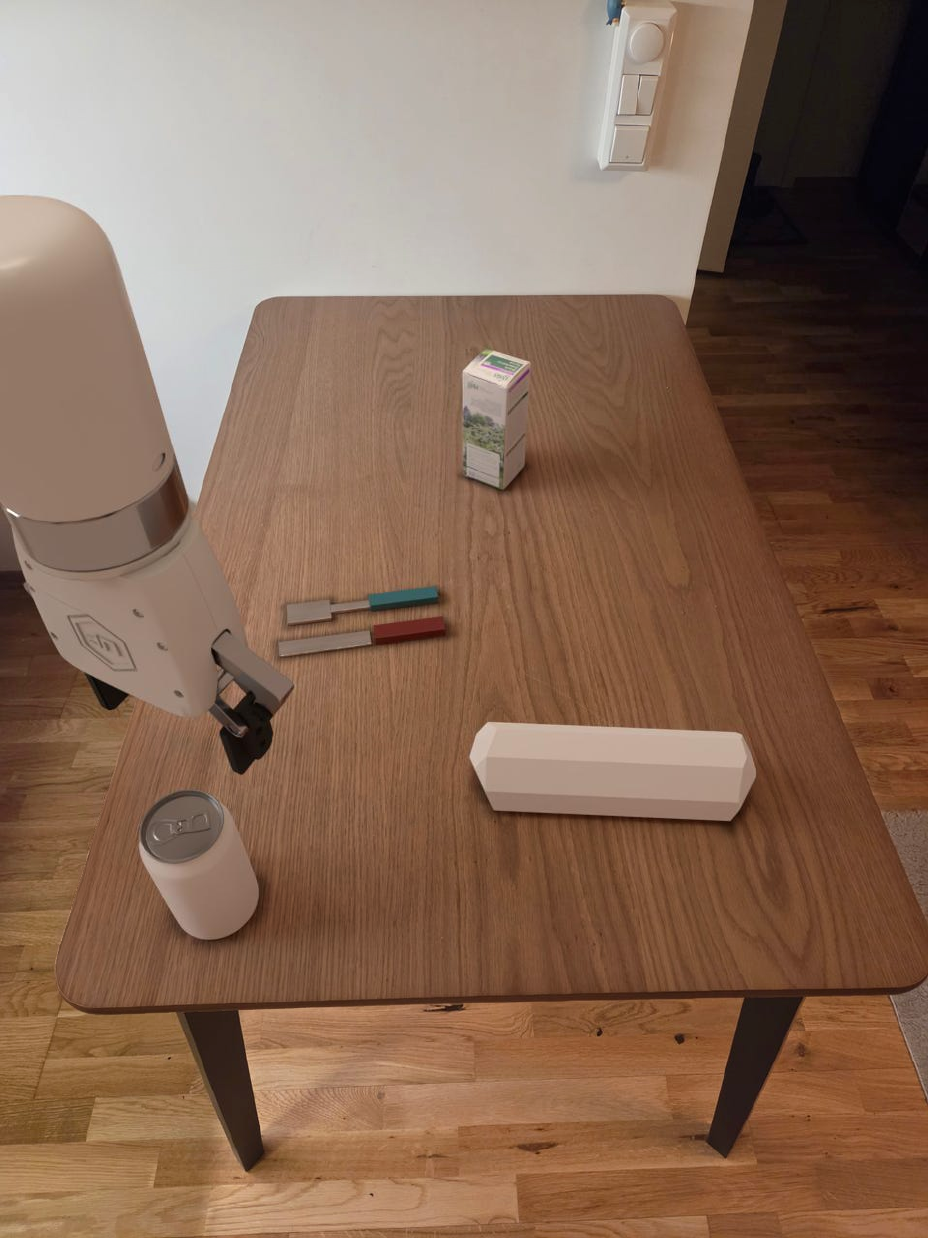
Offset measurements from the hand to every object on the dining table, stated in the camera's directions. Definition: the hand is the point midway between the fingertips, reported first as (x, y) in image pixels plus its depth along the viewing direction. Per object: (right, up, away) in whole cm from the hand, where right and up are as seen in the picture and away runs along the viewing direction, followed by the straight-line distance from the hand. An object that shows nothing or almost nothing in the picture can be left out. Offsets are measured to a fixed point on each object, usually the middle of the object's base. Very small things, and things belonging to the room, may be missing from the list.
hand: (187, 722), depth 51 cm
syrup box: (+20, +24, +52) cm, 61 cm away
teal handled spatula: (+6, +7, +37) cm, 38 cm away
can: (-3, -16, +16) cm, 23 cm away
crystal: (+29, -8, +23) cm, 38 cm away
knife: (+7, +4, +34) cm, 35 cm away
